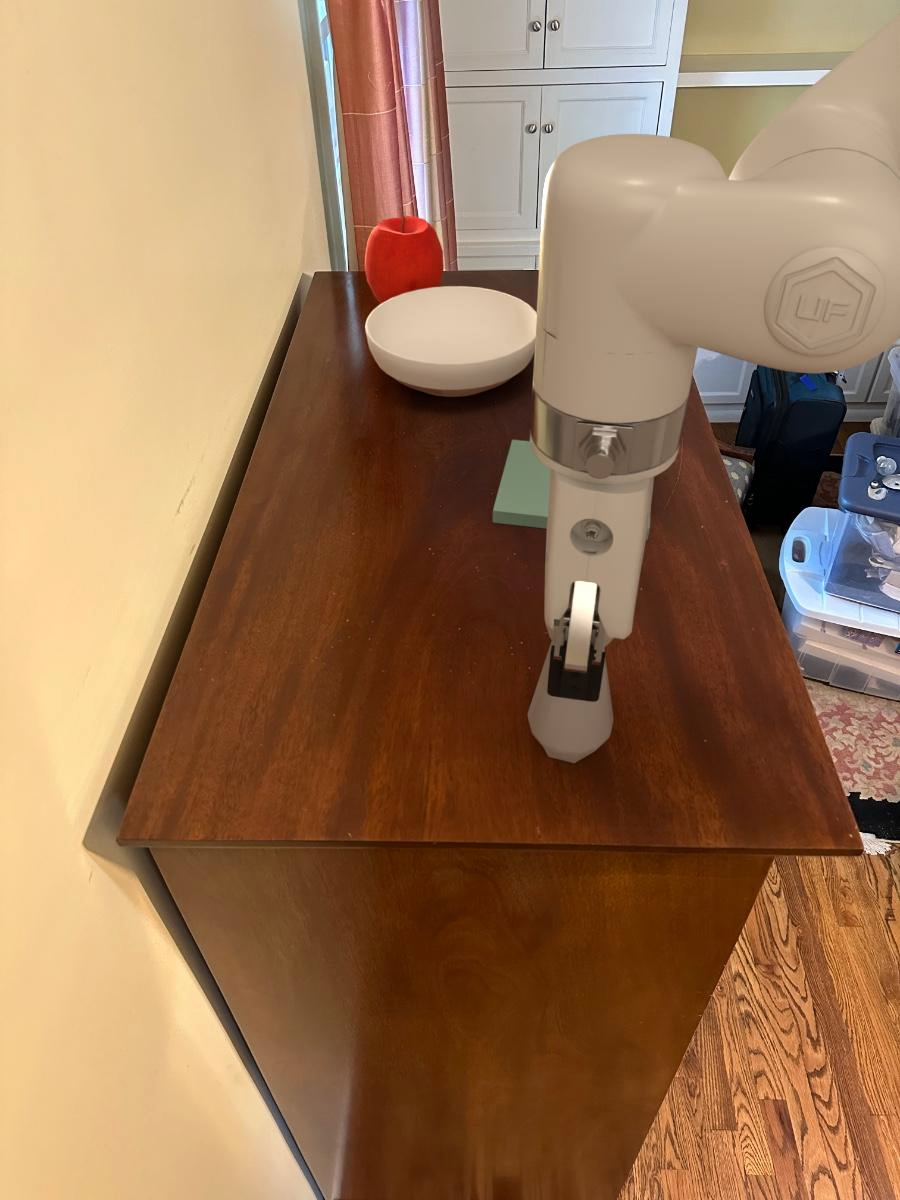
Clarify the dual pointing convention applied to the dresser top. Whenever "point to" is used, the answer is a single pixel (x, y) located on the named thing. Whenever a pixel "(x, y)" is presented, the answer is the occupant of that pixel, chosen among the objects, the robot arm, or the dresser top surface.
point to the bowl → (452, 339)
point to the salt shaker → (570, 715)
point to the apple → (403, 257)
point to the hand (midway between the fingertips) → (576, 664)
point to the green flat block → (524, 489)
